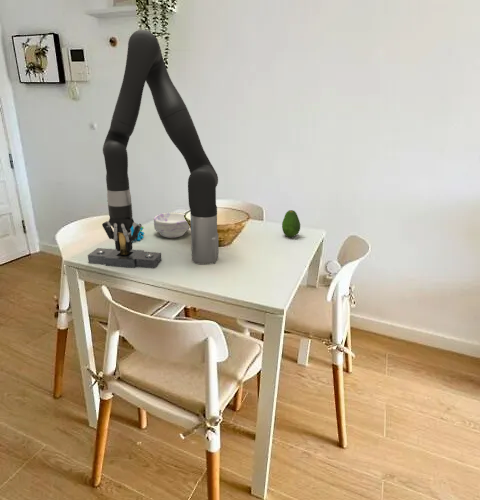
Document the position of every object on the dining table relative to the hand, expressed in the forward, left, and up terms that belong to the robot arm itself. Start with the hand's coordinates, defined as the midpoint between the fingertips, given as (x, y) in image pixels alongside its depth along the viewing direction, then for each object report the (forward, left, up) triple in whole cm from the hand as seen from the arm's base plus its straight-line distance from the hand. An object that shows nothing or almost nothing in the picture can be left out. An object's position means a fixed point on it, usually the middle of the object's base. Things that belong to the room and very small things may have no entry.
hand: (124, 250), depth 126 cm
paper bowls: (-7, -32, -5) cm, 33 cm away
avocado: (-58, -39, -4) cm, 70 cm away
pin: (0, 0, -1) cm, 1 cm away
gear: (+6, -23, -5) cm, 24 cm away
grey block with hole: (0, 0, -4) cm, 4 cm away
